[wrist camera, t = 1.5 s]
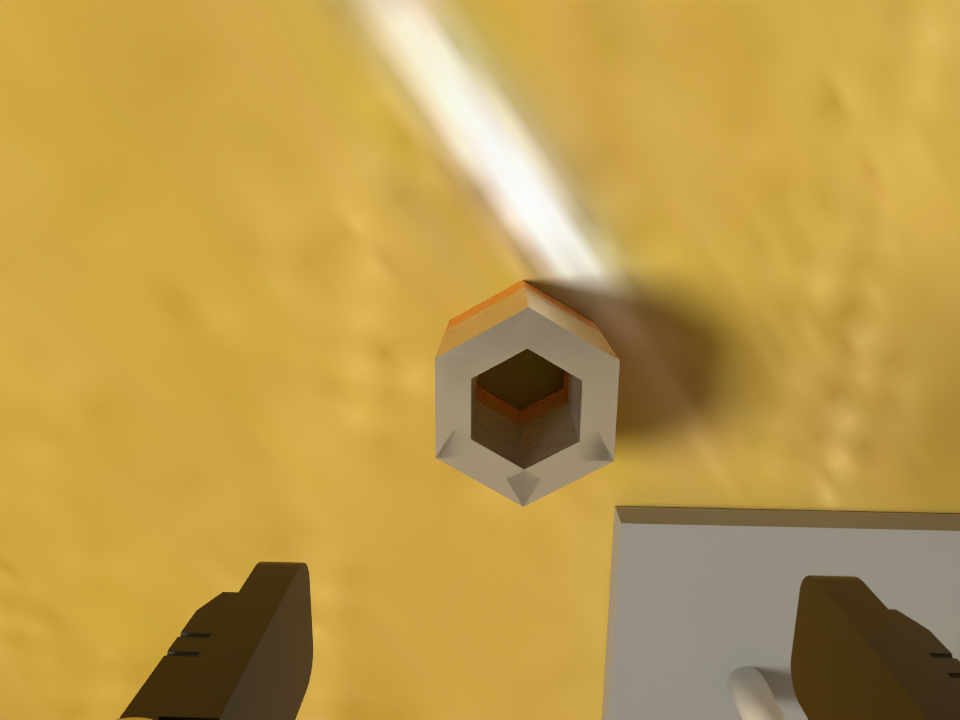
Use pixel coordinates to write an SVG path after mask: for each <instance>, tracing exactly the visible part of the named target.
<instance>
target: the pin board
mask: <svg viewBox="0 0 960 720" xmlns="http://www.w3.org/2000/svg"><path fill="white" fill-rule="evenodd" d="M809 575H817V576H855V577H858V578H860V579H861V580H862V581H863V582H864V583H865V584H866V585H867V586H868V587H869V589H870V590H871V591H872V592H873V593H874V594H875V595H876V596H877V597H878V598H879V599H880V601H881V602H882V603H883V604H884V605H885V606H886V607H887V608H888V609H896V610H898V611H899V612H901V613H903V614H904V615H906V616H907V617H909V618H911V619H912V620H914V621H916V622H917V623H919V624H920V625H922V626H924V627H925V628H927V629H928V630H930V631H931V632H932V633H933V634H934V635H935V637H936V638H937V639H938V640H939V641H940V642H941V643H942V644H943V645H944V646H945V647H946V648H947V649H948V650H949V651H950V652H951V653H952V657H953V658H957V659H958V660H959V661H960V514H942V513H896V512H851V511H806V510H760V509H715V508H670V507H624V506H615V518H614V534H613V551H612V567H611V584H610V600H609V617H608V633H607V650H606V667H605V683H604V700H603V716H602V720H808V718H807V717H806V715H805V713H804V711H803V710H802V708H801V706H800V704H799V702H798V700H797V698H796V695H795V692H794V688H793V683H792V678H791V654H792V646H793V639H794V631H795V623H796V615H797V608H798V600H799V592H800V587H801V583H802V581H803V579H804V578H805V577H806V576H809Z"/></svg>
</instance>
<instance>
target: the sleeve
mask: <svg viewBox="0 0 960 720" xmlns="http://www.w3.org/2000/svg"><path fill="white" fill-rule="evenodd" d="M526 349H529V350H531V351H533V352H534V353H536V354H538V355H539V356H541V357H543V358H545V359H546V360H548V361H550V362H551V363H553V364H555V365H556V366H558V367H560V368H562V369H563V370H564V388H562V389H560V390H558V391H556V392H554V393H552V394H550V395H549V396H547V397H545V398H543V399H541V400H539V401H537V402H535V403H533V404H531V405H529V406H528V407H526V408H524V409H522V410H518V409H516V408H514V407H513V406H511V405H509V404H507V403H506V402H504V401H502V400H501V399H499V398H497V397H495V396H494V395H492V394H490V393H488V392H487V391H485V390H483V389H481V388H480V387H478V386H477V375H479V374H481V373H483V372H485V371H487V370H488V369H490V368H492V367H494V366H496V365H498V364H500V363H502V362H503V361H505V360H507V359H509V358H511V357H513V356H515V355H516V354H518V353H520V352H522V351H524V350H526ZM619 368H620V360H619V359H618V357H617V356H616V354H615V353H614V351H613V350H612V348H611V347H610V345H609V344H608V342H607V341H606V339H605V338H604V336H603V335H602V333H601V332H600V330H599V329H598V327H597V326H596V324H595V323H594V322H592V321H590V320H589V319H587V318H585V317H584V316H582V315H580V314H579V313H577V312H575V311H574V310H572V309H570V308H569V307H567V306H565V305H564V304H562V303H560V302H559V301H557V300H555V299H554V298H552V297H550V296H549V295H547V294H545V293H544V292H542V291H540V290H538V289H537V288H535V287H533V286H532V285H530V284H528V283H527V282H525V281H523V280H522V281H521V282H519V283H517V284H515V285H513V286H512V287H510V288H508V289H506V290H504V291H503V292H501V293H499V294H497V295H495V296H493V297H492V298H490V299H488V300H486V301H484V302H483V303H481V304H479V305H477V306H475V307H474V308H472V309H470V310H468V311H466V312H465V313H463V314H461V315H459V316H457V317H456V318H454V319H452V320H450V321H449V323H448V326H447V328H446V331H445V334H444V336H443V339H442V341H441V344H440V347H439V349H438V352H437V355H436V357H435V406H436V458H437V459H439V460H441V461H443V462H445V463H446V464H448V465H450V466H452V467H454V468H455V469H457V470H459V471H461V472H462V473H464V474H466V475H468V476H470V477H471V478H473V479H475V480H477V481H479V482H480V483H482V484H484V485H486V486H487V487H489V488H491V489H493V490H495V491H496V492H498V493H500V494H502V495H503V496H505V497H507V498H509V499H511V500H512V501H514V502H516V503H518V504H520V505H521V506H523V507H524V506H526V505H528V504H530V503H532V502H534V501H536V500H538V499H540V498H542V497H544V496H546V495H548V494H550V493H552V492H554V491H556V490H558V489H559V488H561V487H563V486H565V485H567V484H569V483H571V482H573V481H575V480H577V479H579V478H581V477H583V476H585V475H587V474H589V473H591V472H593V471H595V470H597V469H599V468H601V467H603V466H605V465H607V464H609V463H611V462H613V461H614V452H615V435H616V418H617V402H618V385H619Z"/></svg>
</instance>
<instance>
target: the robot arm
mask: <svg viewBox="0 0 960 720" xmlns="http://www.w3.org/2000/svg"><path fill="white" fill-rule="evenodd" d="M312 660H313V636H312V617H311V599H310V580H309V571H308V567H307V565H306V563H294V562H259V563H258V564H257V565H256V566H255V568H254V569H253V571H252V572H251V574H250V575H249V577H248V579H247V580H246V582H245V583H244V585H243V586H242V588H241V589H240V591H239V592H238V593H236V592H222V593H221V594H220V595H218V596H217V597H215V598H214V599H212V600H211V601H210V602H208V603H207V604H205V605H204V606H203V607H201V608H200V609H198V610H197V611H196V612H195V614H194V615H193V616H192V618H191V619H190V621H189V622H188V623H187V625H186V626H185V628H184V629H183V630H182V632H181V636H180V637H177V639H176V640H175V641H174V643H173V644H172V646H171V647H170V648H169V650H168V654H167V656H164V657H163V658H162V660H161V661H160V662H159V664H158V665H157V667H156V668H155V669H154V671H153V672H152V674H151V675H150V676H149V678H148V679H147V681H146V682H145V683H144V685H143V686H142V688H141V689H140V690H139V692H138V693H137V695H136V696H135V697H134V699H133V700H132V702H131V703H130V704H129V706H128V707H127V708H126V710H125V711H124V713H123V714H122V715H121V717H120V718H119V719H117V720H295V719H296V716H297V714H298V711H299V708H300V706H301V703H302V701H303V698H304V695H305V693H306V690H307V687H308V684H309V680H310V675H311V669H312ZM791 678H792V683H793V688H794V692H795V695H796V698H797V700H798V702H799V704H800V706H801V708H802V710H803V711H804V713H805V715H806V717H807V718H808V720H960V661H959V660H958V659H957V658H953V657H952V653H951V652H950V651H949V650H948V649H947V648H946V647H945V646H944V645H943V644H942V643H941V642H940V641H939V640H938V639H937V638H936V637H935V635H934V634H933V633H932V632H931V631H930V630H928V629H927V628H925V627H924V626H922V625H920V624H919V623H917V622H916V621H914V620H912V619H911V618H909V617H907V616H906V615H904V614H903V613H901V612H899V611H898V610H896V609H888V608H887V607H886V606H885V605H884V604H883V603H882V602H881V601H880V599H879V598H878V597H877V596H876V595H875V594H874V593H873V592H872V591H871V590H870V589H869V587H868V586H867V585H866V584H865V583H864V582H863V581H862V580H861V579H860V578H858V577H855V576H817V575H809V576H806V577H805V578H804V579H803V581H802V583H801V587H800V592H799V600H798V608H797V615H796V623H795V631H794V639H793V646H792V654H791Z"/></svg>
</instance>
